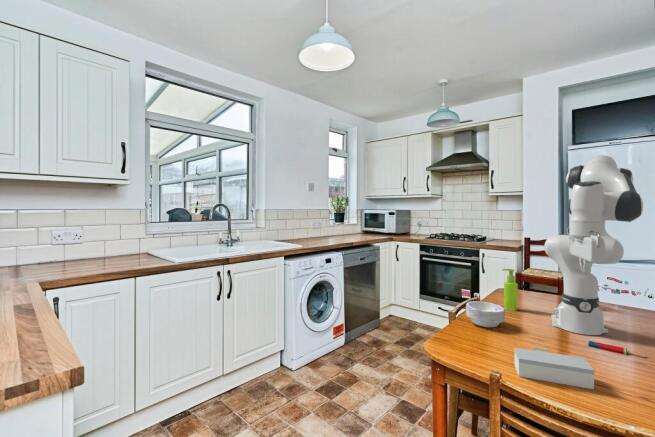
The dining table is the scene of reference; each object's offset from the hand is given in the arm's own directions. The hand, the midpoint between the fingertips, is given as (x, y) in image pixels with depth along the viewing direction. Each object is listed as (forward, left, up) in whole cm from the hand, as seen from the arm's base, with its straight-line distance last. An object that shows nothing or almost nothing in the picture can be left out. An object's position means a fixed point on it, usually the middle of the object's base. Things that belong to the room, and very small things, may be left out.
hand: (585, 272), depth 105 cm
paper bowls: (-24, -28, -29) cm, 47 cm away
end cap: (+17, -13, -29) cm, 36 cm away
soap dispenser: (-52, -15, -29) cm, 62 cm away
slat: (+10, -13, -30) cm, 34 cm away
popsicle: (-12, +13, -30) cm, 35 cm away
